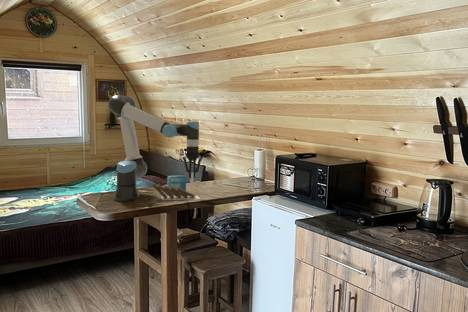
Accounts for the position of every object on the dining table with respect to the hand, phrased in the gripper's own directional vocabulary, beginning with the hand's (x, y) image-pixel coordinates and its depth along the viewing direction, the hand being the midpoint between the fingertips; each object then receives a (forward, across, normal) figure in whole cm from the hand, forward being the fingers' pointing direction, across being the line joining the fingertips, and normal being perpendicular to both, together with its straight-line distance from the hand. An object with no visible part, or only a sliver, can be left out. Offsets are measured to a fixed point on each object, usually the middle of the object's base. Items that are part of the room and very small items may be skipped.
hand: (191, 182), depth 269 cm
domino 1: (+9, -16, 0) cm, 18 cm away
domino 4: (+9, -3, 0) cm, 9 cm away
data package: (+11, -7, +18) cm, 22 cm away
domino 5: (+9, +1, 0) cm, 9 cm away
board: (+10, -7, 0) cm, 13 cm away
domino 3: (+9, -7, 0) cm, 11 cm away
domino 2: (+9, -12, 0) cm, 15 cm away
